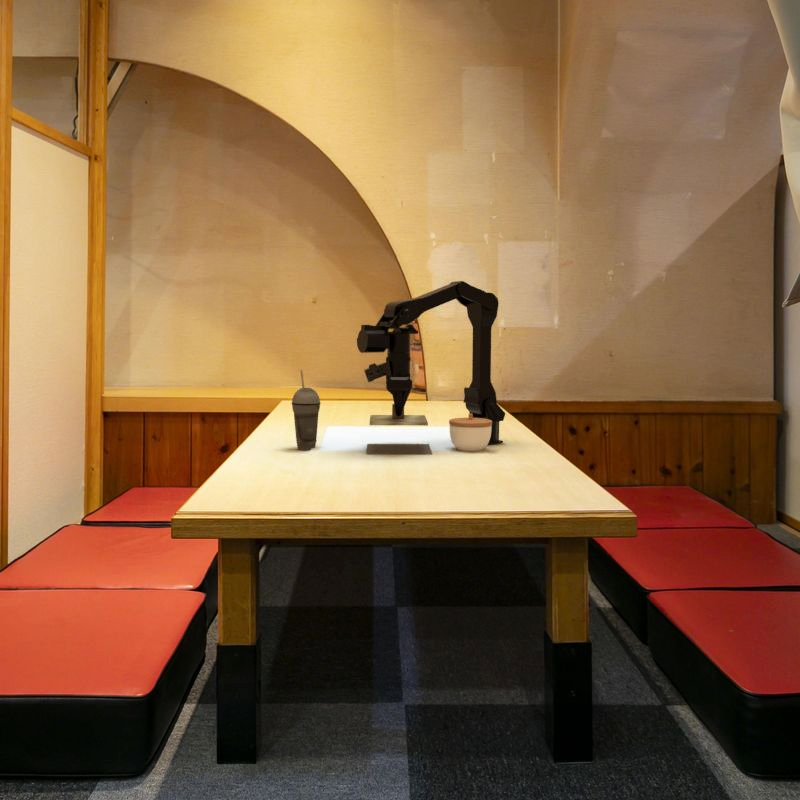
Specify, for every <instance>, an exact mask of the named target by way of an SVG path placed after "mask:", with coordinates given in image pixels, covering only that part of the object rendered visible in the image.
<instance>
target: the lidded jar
mask: <svg viewBox="0 0 800 800" xmlns="http://www.w3.org/2000/svg"><path fill="white" fill-rule="evenodd" d="M448 422H449V423H448V424H449V436H450V440H451V443H452V444H453V446H454V447H455V448H456V449H457V450H459V451H462V452H481V451H483V450H484V449H485V448H487V446H488V445H489V444H488V443H489V441H490V437H491V429H492V420H489V419H484V418H473V414H470V413H468V417H455V418H450V419H449V420H448Z"/></svg>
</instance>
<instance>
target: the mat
mask: <svg viewBox="0 0 800 800" xmlns="http://www.w3.org/2000/svg"><path fill="white" fill-rule="evenodd" d="M365 455H369V456H370V455H373V456H374V455H375V456H377V455H379V456H380V455H381V456H382V455H386V456H389V455H391V456H392V455H396V456H397V455H399V456H401V455H402V456H404V455H405V456H407V455H408V456H411V455H413V456H414V455H415V456H417V455H418V456H422V455H423V456H425V455H427V456H428V455H430V456H431V455H433V453H432V449H431V446H430V443H367V444H366V452H365Z"/></svg>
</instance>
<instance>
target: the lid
mask: <svg viewBox="0 0 800 800" xmlns="http://www.w3.org/2000/svg"><path fill="white" fill-rule="evenodd" d="M391 408H392V409H391V410H392V411H391V412H392V413H391V414H370V417H369V426H426V427H427V426H429V422H428V419H427V418H426V415H425V414H405V408H404V409H403V411H402V414H401V416H396V411H395V406H394V403H392V405H391Z"/></svg>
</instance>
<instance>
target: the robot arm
mask: <svg viewBox="0 0 800 800" xmlns="http://www.w3.org/2000/svg"><path fill="white" fill-rule="evenodd" d="M454 300H456V301H457V302H458V303H459V304H460V305H462V306H464V307H465V308H466V311H467V317H468V320H469V321H470V324H471V327H472V355H471V356H472V361H471V362H472V366H471V369H472V373H471V374H472V375H471V377H472V379H471V383H470V384H469V385H468V386H469V387H464V390H463V393H464V394H463V396H464V398H463V403H464V405H465V408H466V410H468V412H469V413H468V414H473V418H484V419H489V420H492V429H491V437H490V441H489V443H488V444H487V445H493V444H502V443H504V440H502V439H500V422H504V420H505V417H506V412H505V411H504V410H503V408H501V406H499V404H498V400H497V399H498V398H497V392H496V389H495V387H494V385H493V383H492V377H491V375H492V327H493V325H494V323H495V321H496V319H497V317H498V309H499V299H498V297H497V296H496V295H495V294H494V293H493V292H486V291H485V290H483V289H480V288H479V287H476V286H473V285H471V284H469V283H467V282H466V281H463V280H457V281H456V280H455V281H451V282H450V283H448V284H447V285H444V286H441V287H438V288H436V289H434V290H431V291H429V292H427V293H424V294H421V295H419V296H415V297H412V298H406V299H400V300H393V301H390V302H388V303H386V305H385V307H384V309H383V314H382V315H381V317H380V318H379V320H378V321H377V323H376V324H375V325H371V324H361V325H360V330H359V332H358V334H357V338H356V347H357V350H358V352H360V353H361V354H368V353H369V354H371V353H374V354H375V353H377V354H379V353H382V354H383V353H385V352H386V355H387V356H386V357H385V362H381V363H379V364H377V363H375V362H374V363H372V364H369V365H368V368H366V369H363V372H364V374H365V376H366V379H367V382H368V383H371V382H374V380H377V379H379V378H382V377H385V385H386V386H385V389H386V390H387V391H388V392H389V394H390V395H392V398H393V399H392V401H393V404H394V406H395V411H396V416H401V414H402V411H403V409H404V410H405V406H406V403H407V401H408V398H409V397H410V393H411V391H412V390H413V380H412V379H411V358H412V357H411V335H418V334H419V330H417V329H416V327H414V326H413V324H411V323H413V322H414V321H415V320H418V319H419V317H421V315H422V314H424V313H426V312H427V311H430V310H432V309H434V308H437V307H439V306H442V305H444V304H446V303H449V302H451V301H454ZM403 326H405V327H403ZM391 329H392V331H389V330H391Z"/></svg>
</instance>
